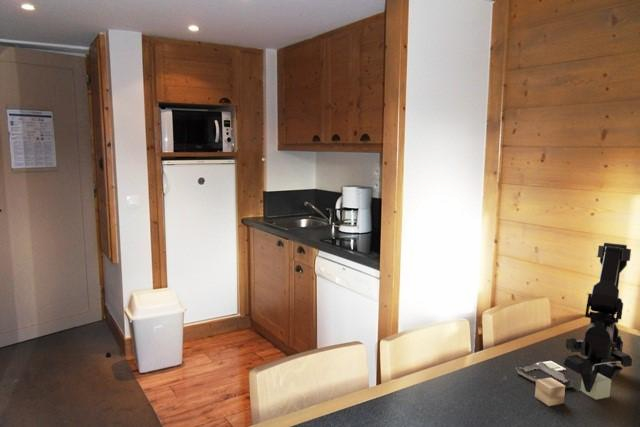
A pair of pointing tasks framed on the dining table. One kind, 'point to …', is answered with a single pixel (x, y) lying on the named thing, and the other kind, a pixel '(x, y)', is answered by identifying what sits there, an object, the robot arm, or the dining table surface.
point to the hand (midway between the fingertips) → (595, 390)
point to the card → (553, 366)
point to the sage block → (598, 387)
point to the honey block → (550, 391)
